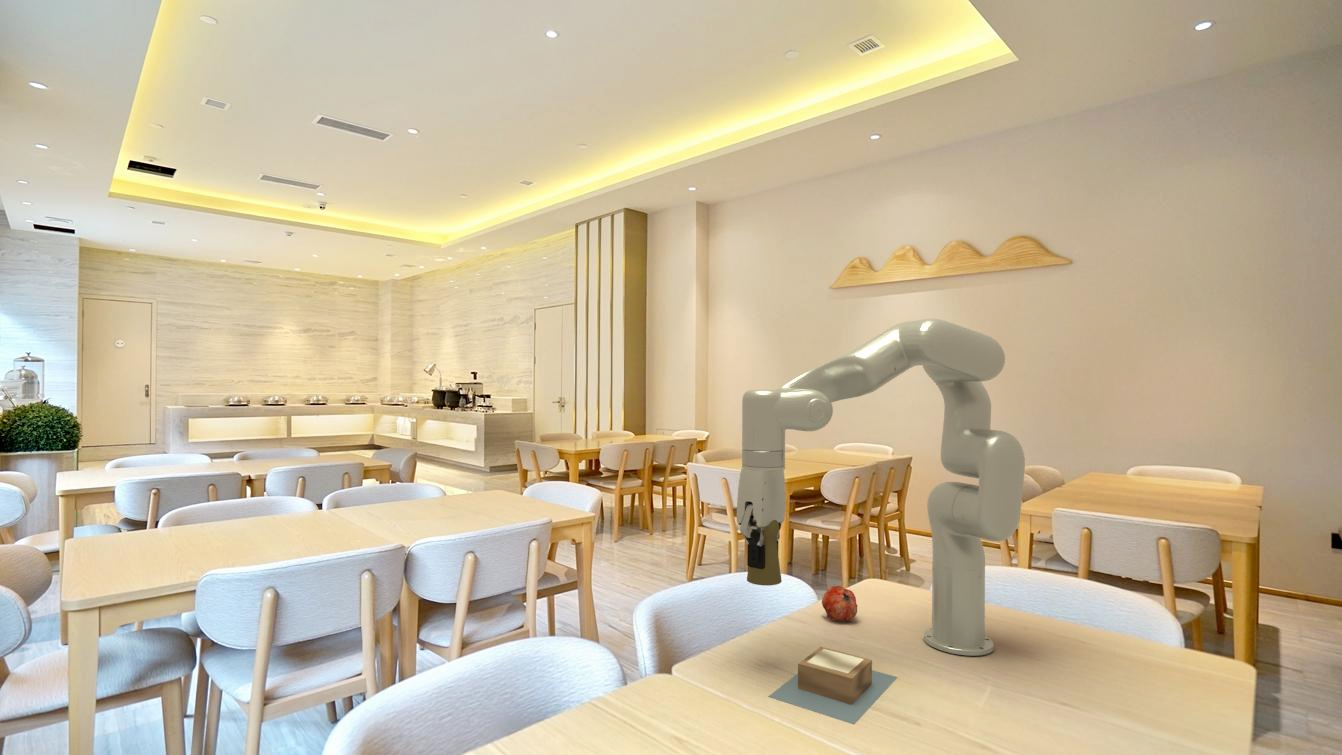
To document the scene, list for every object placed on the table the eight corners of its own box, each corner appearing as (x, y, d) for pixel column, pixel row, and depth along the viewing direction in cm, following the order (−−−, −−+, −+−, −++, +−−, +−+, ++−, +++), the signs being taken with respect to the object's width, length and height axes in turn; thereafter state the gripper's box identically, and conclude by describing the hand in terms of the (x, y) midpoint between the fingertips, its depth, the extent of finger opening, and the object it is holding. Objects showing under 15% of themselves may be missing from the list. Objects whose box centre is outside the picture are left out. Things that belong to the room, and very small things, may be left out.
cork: (780, 586, 111) (780, 521, 111) (745, 584, 112) (745, 519, 113) (782, 576, 117) (782, 514, 117) (748, 574, 118) (748, 513, 119)
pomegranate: (817, 626, 144) (829, 610, 136) (815, 593, 149) (827, 576, 141) (850, 630, 144) (864, 615, 136) (848, 597, 149) (861, 581, 141)
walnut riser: (820, 670, 114) (820, 645, 114) (871, 684, 108) (871, 658, 108) (797, 688, 106) (798, 662, 107) (851, 704, 101) (851, 677, 101)
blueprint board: (819, 661, 120) (819, 656, 120) (897, 682, 111) (897, 677, 111) (768, 702, 103) (768, 696, 104) (854, 731, 95) (854, 724, 95)
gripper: (767, 455, 124) (767, 552, 124) (719, 462, 111) (719, 571, 110) (803, 457, 120) (803, 558, 119) (758, 465, 106) (758, 579, 106)
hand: (763, 563), depth 115 cm, fingers closed on cork, 4 cm apart
